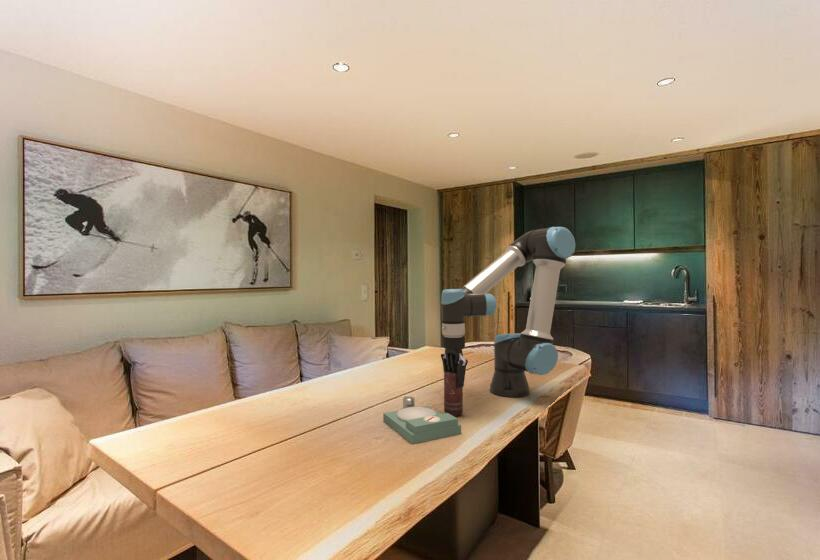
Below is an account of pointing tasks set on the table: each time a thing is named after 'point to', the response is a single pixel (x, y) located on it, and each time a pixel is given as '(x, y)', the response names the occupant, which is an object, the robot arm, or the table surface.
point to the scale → (422, 424)
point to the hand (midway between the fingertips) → (454, 406)
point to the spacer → (408, 402)
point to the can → (452, 395)
